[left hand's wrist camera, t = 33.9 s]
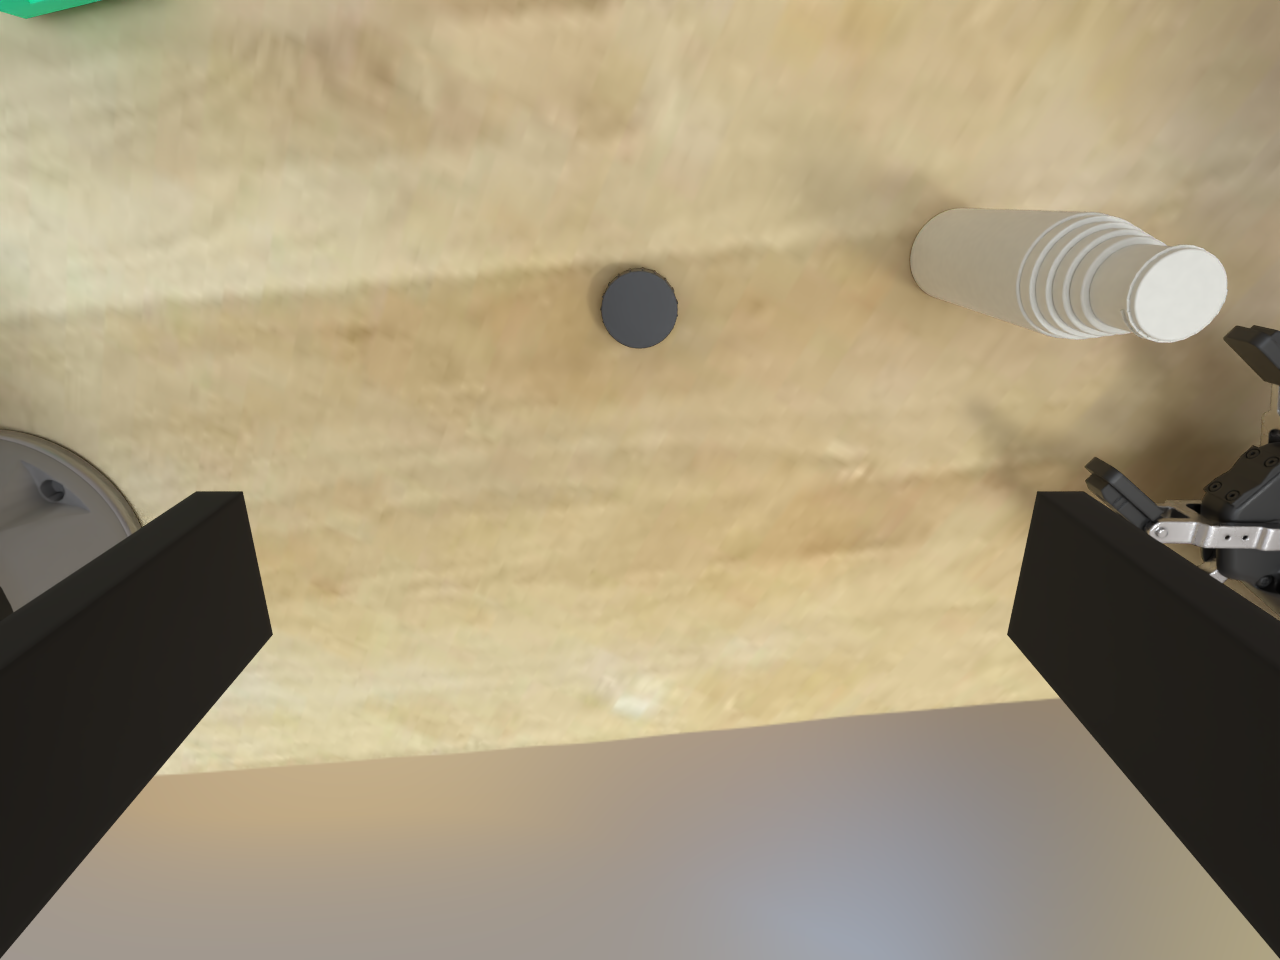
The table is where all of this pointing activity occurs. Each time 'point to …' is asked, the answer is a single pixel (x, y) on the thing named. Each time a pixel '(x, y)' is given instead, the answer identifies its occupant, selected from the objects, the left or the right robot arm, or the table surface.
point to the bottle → (1068, 273)
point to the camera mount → (38, 6)
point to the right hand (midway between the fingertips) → (1167, 402)
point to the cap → (639, 308)
